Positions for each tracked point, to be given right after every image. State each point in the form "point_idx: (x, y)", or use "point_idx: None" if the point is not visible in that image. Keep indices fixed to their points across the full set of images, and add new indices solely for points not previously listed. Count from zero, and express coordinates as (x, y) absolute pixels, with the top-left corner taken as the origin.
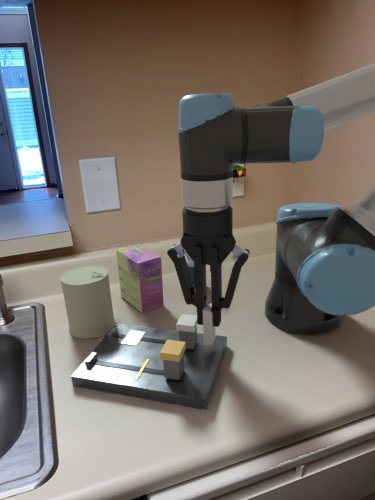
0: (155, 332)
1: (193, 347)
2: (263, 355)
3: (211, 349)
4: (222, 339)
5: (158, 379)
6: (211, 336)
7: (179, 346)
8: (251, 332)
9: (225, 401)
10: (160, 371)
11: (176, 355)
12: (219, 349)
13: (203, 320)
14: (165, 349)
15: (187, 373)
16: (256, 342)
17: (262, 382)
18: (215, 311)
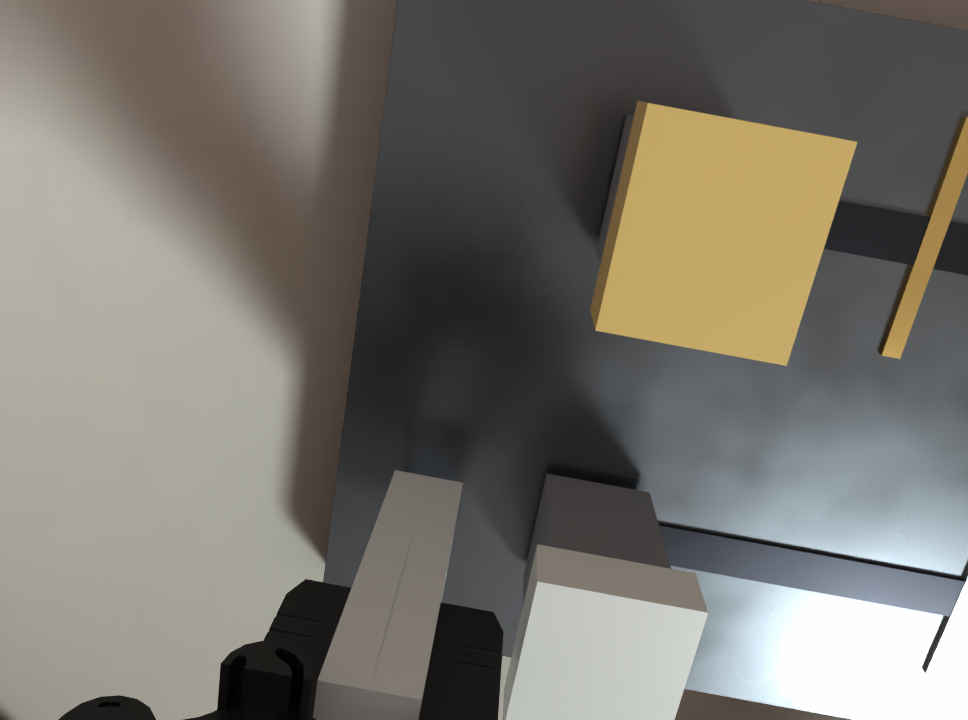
0: (847, 669)
1: (545, 483)
2: (101, 491)
3: None
4: None
5: None
6: (384, 512)
7: (652, 251)
8: (193, 705)
9: (304, 39)
10: None
11: (674, 108)
12: (359, 485)
13: (432, 618)
14: (797, 197)
15: (571, 212)
16: (154, 612)
17: (85, 236)
18: (256, 655)
